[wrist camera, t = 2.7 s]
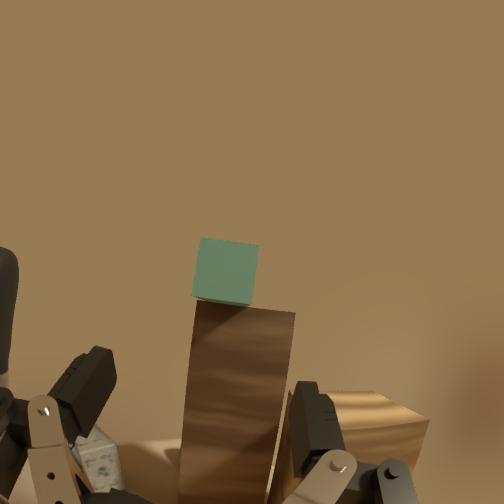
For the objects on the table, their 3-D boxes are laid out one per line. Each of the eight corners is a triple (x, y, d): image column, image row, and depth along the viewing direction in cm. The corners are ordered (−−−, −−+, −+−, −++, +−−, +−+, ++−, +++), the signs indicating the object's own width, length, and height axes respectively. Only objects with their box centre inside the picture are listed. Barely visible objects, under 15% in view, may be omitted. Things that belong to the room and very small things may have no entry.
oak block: (369, 558, 15) (429, 419, 20) (275, 571, 15) (317, 430, 20) (339, 508, 29) (372, 390, 34) (264, 511, 29) (289, 389, 33)
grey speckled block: (55, 467, 26) (49, 415, 28) (97, 463, 33) (94, 414, 35) (81, 503, 20) (72, 449, 23) (128, 494, 27) (126, 443, 29)
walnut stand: (254, 539, 22) (295, 312, 29) (177, 530, 22) (197, 299, 28) (250, 495, 34) (278, 312, 40) (189, 487, 33) (208, 303, 40)
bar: (251, 304, 19) (259, 245, 19) (191, 295, 19) (200, 237, 19) (243, 308, 44) (246, 283, 45) (217, 305, 44) (221, 279, 45)
